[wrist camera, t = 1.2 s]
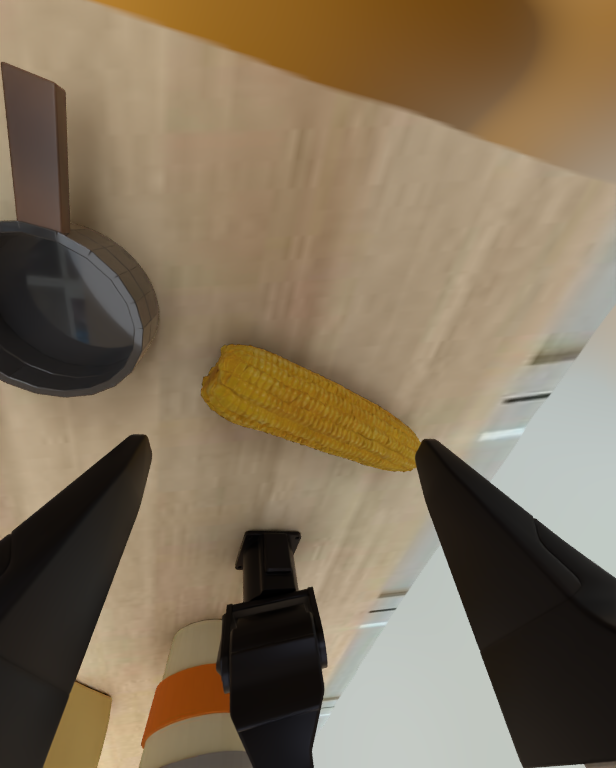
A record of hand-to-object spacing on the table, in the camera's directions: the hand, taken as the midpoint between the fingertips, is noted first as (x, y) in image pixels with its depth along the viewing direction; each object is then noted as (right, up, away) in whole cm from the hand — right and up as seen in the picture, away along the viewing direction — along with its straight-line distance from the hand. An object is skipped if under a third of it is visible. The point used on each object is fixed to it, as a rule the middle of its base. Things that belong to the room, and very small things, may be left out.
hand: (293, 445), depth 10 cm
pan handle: (-12, +12, +4) cm, 17 cm away
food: (+2, +1, +17) cm, 17 cm away
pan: (-14, +7, +10) cm, 19 cm away
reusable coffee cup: (-14, -34, +33) cm, 49 cm away
